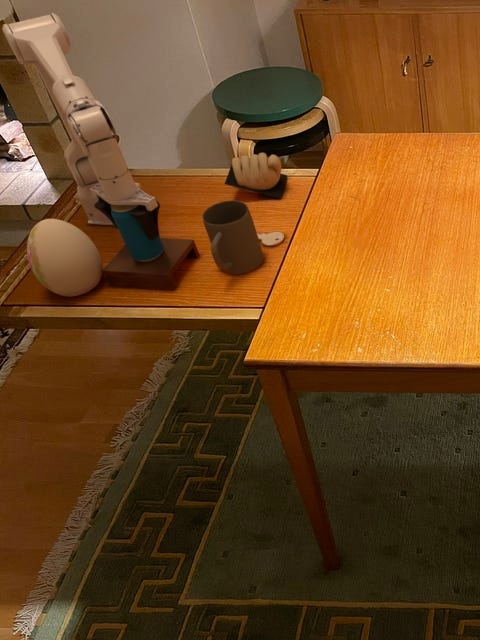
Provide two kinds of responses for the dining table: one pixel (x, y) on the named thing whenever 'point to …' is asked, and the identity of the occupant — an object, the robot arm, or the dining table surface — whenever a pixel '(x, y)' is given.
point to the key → (271, 238)
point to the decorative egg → (63, 258)
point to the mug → (233, 237)
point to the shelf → (150, 266)
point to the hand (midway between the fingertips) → (139, 233)
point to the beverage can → (135, 234)
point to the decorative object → (257, 175)
